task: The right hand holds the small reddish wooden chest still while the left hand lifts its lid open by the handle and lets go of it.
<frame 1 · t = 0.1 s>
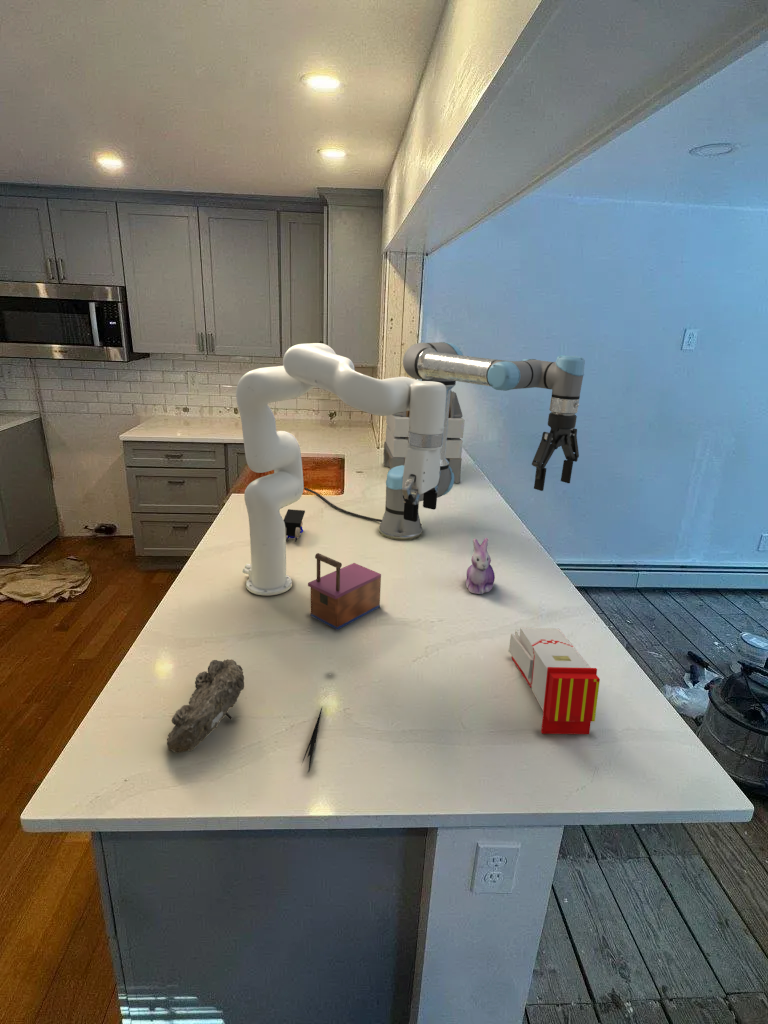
left hand: (420, 514, 128), 31 cm above the counter, tool pointing down, fingers open, 9 cm apart
right hand: (552, 485, 166), 28 cm above the counter, tool pointing down, fingers open, 13 cm apart
figurine character: (293, 536, 193), on the counter
toy: (543, 689, 120), on the counter
figurine: (479, 587, 163), on the counter
fossil: (212, 717, 108), on the counter
lid: (345, 566, 143), point 13 cm above the counter, hinge at 0.0°
transformer: (419, 473, 275), on the counter
chest: (345, 611, 148), on the counter
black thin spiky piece: (319, 719, 109), on the counter
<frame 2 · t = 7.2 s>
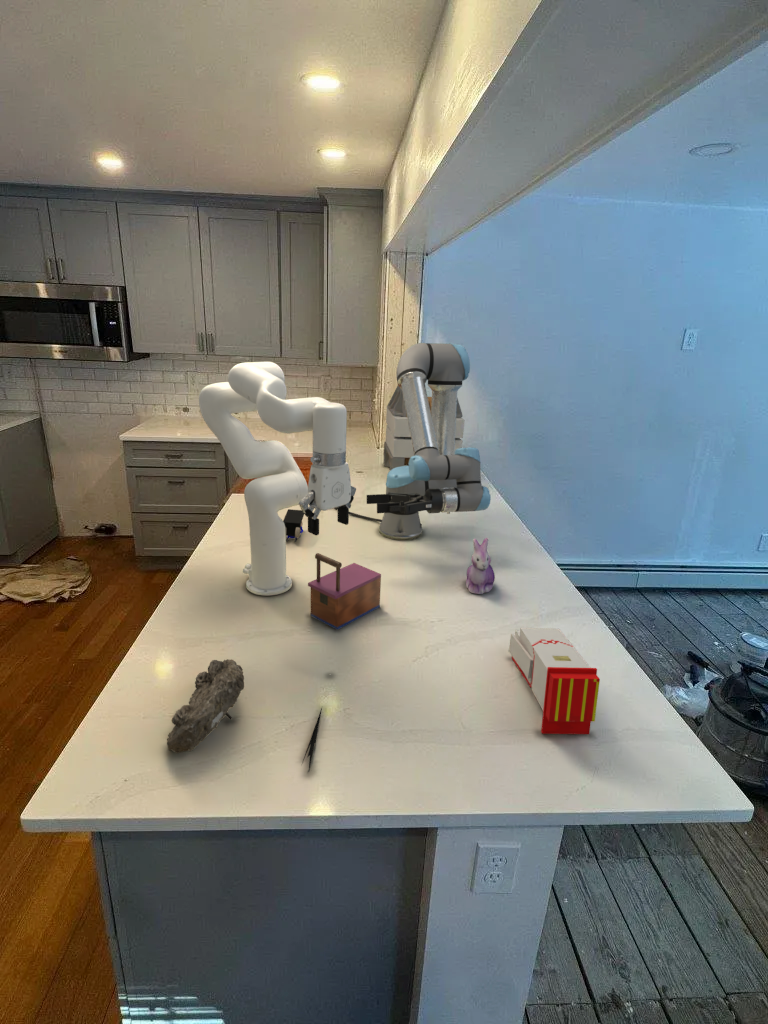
left hand: (328, 528, 134), 25 cm above the counter, tool pointing down, fingers open, 9 cm apart
right hand: (371, 503, 167), 20 cm above the counter, tool horizontal, fingers open, 13 cm apart
nothing on the counter moved.
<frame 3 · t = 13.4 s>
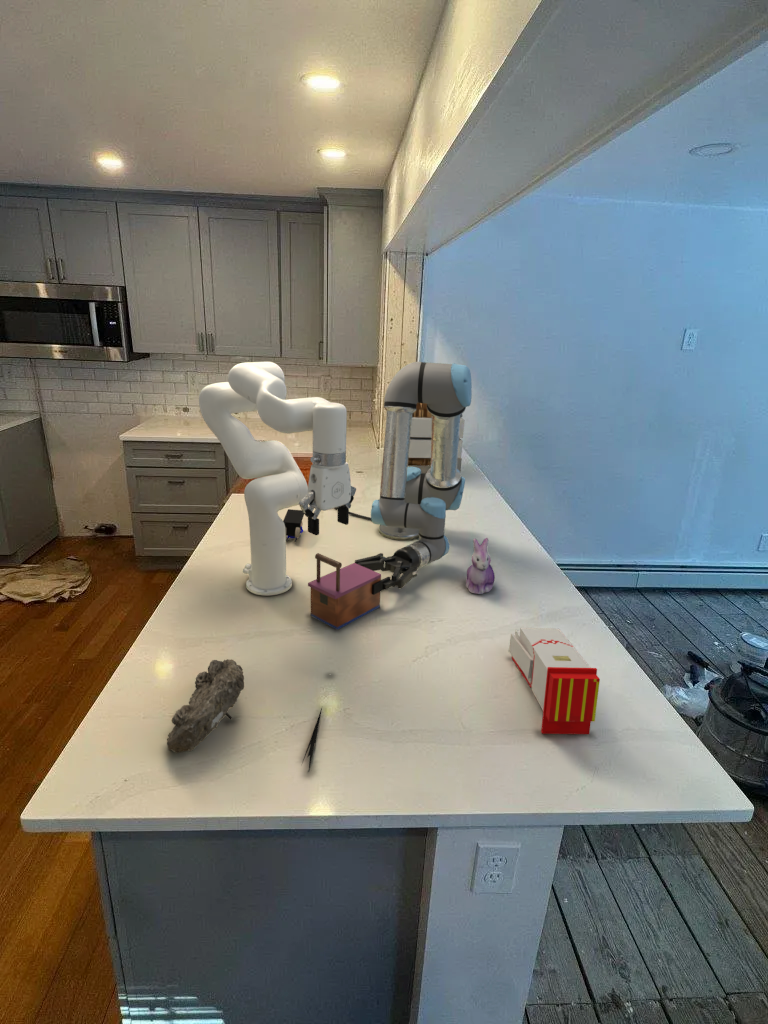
left hand: (328, 528, 134), 25 cm above the counter, tool pointing down, fingers open, 9 cm apart
right hand: (358, 583, 149), 7 cm above the counter, tool horizontal, fingers closed on chest, 10 cm apart
chest: (345, 611, 148), on the counter, touching right hand
everything else where it was.
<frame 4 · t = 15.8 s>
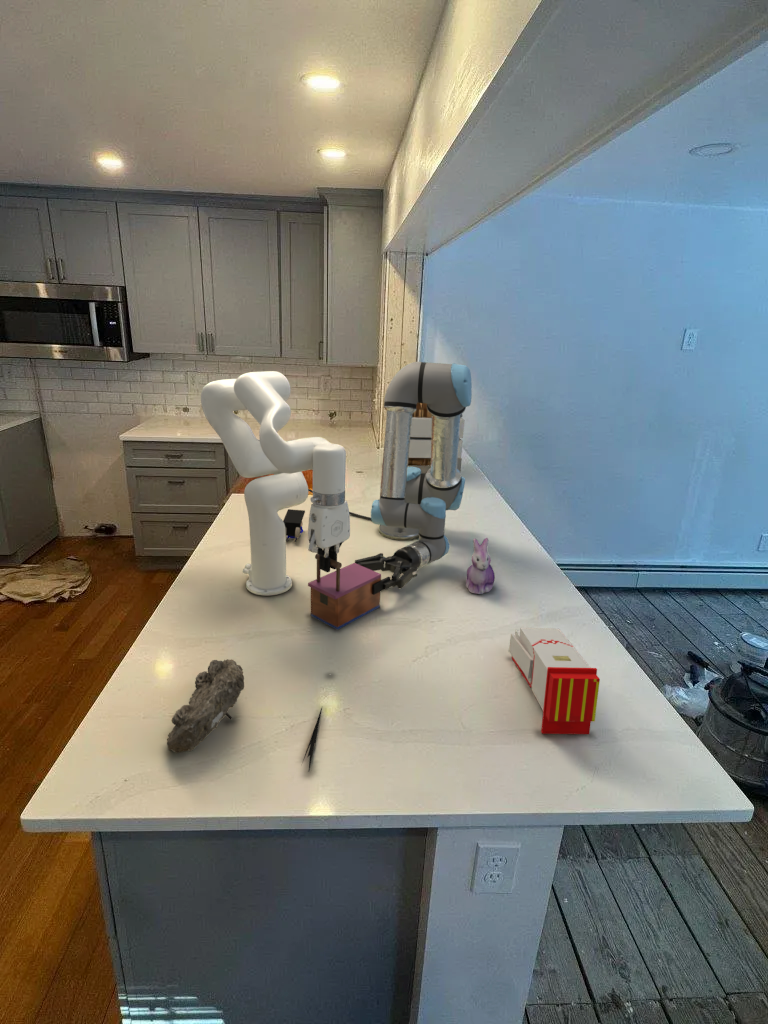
left hand: (328, 568, 138), 15 cm above the counter, tool pointing down, fingers closed
right hand: (358, 583, 149), 7 cm above the counter, tool horizontal, fingers closed on chest, 10 cm apart
lid: (345, 566, 143), point 13 cm above the counter, hinge at -0.1°, touching left hand
chest: (345, 611, 148), on the counter, touching right hand
everything else where it was.
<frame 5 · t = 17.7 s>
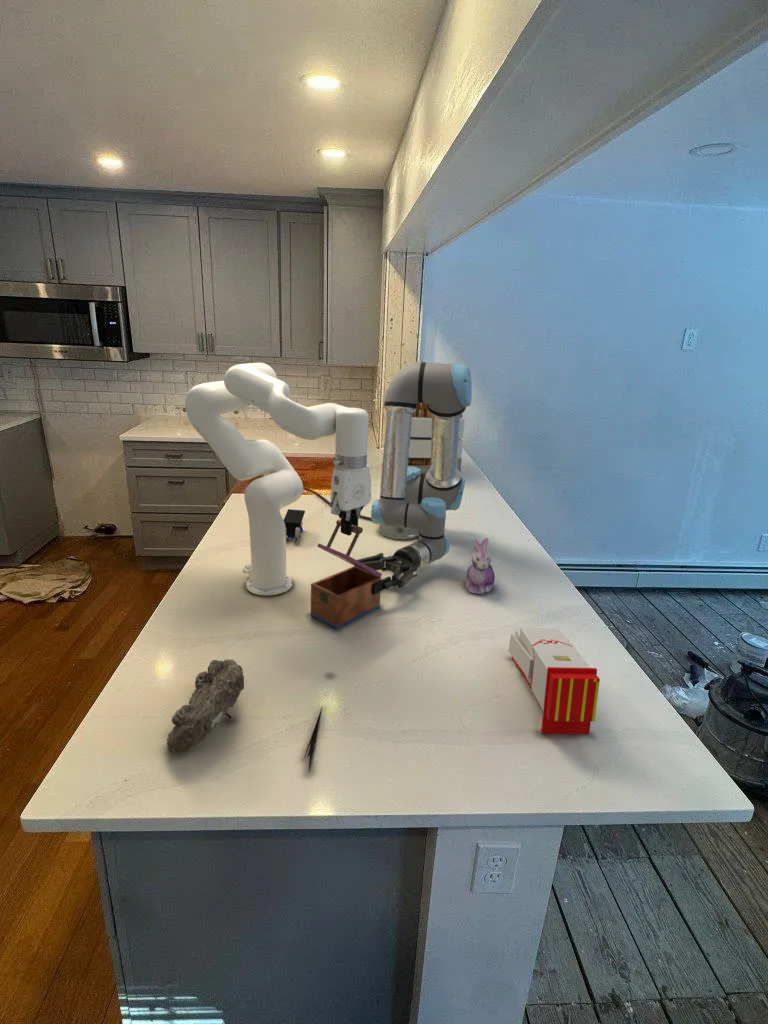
left hand: (349, 532, 141), 22 cm above the counter, tool pointing down, fingers closed
right hand: (358, 583, 149), 7 cm above the counter, tool horizontal, fingers closed on chest, 10 cm apart
lid: (356, 546, 144), point 17 cm above the counter, hinge at 34.6°, touching left hand
chest: (345, 610, 148), on the counter, touching right hand
everything else where it was.
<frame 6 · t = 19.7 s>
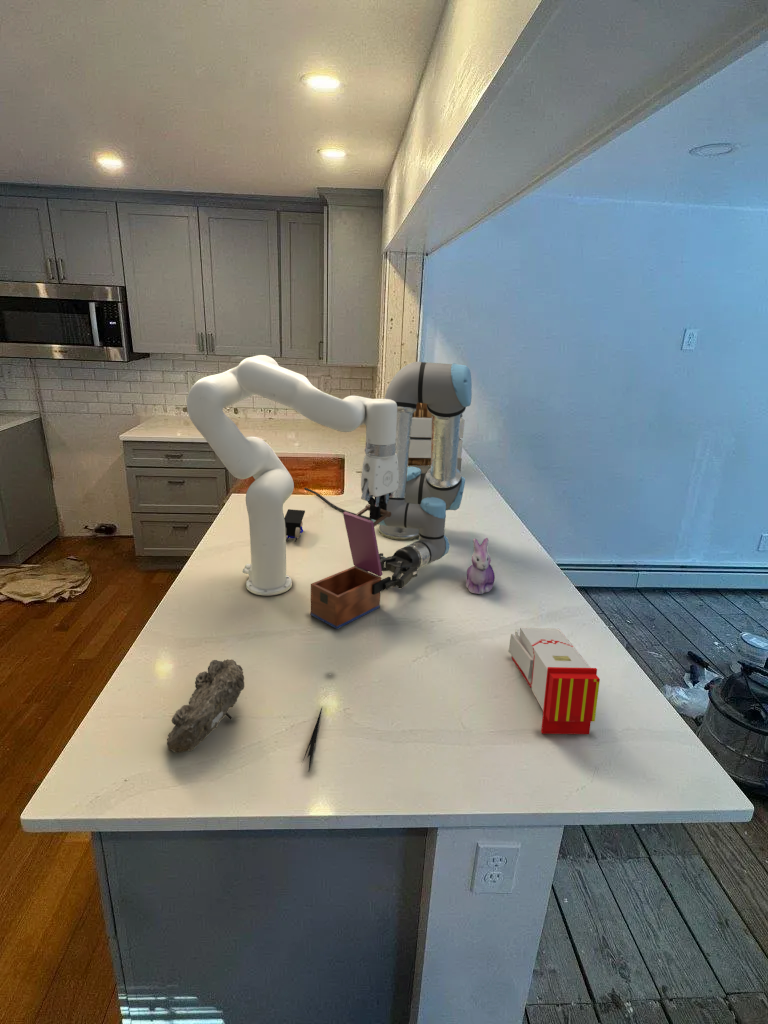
left hand: (377, 517, 148), 23 cm above the counter, tool pointing down, fingers closed
right hand: (358, 583, 149), 7 cm above the counter, tool horizontal, fingers closed on chest, 10 cm apart
lid: (372, 536, 148), point 18 cm above the counter, hinge at 73.3°
chest: (345, 610, 148), on the counter, touching right hand
everything else where it was.
when the right hand's fingers open (7 cm above the counter, at t = 24.1 s): chest stays where it is, on the counter.
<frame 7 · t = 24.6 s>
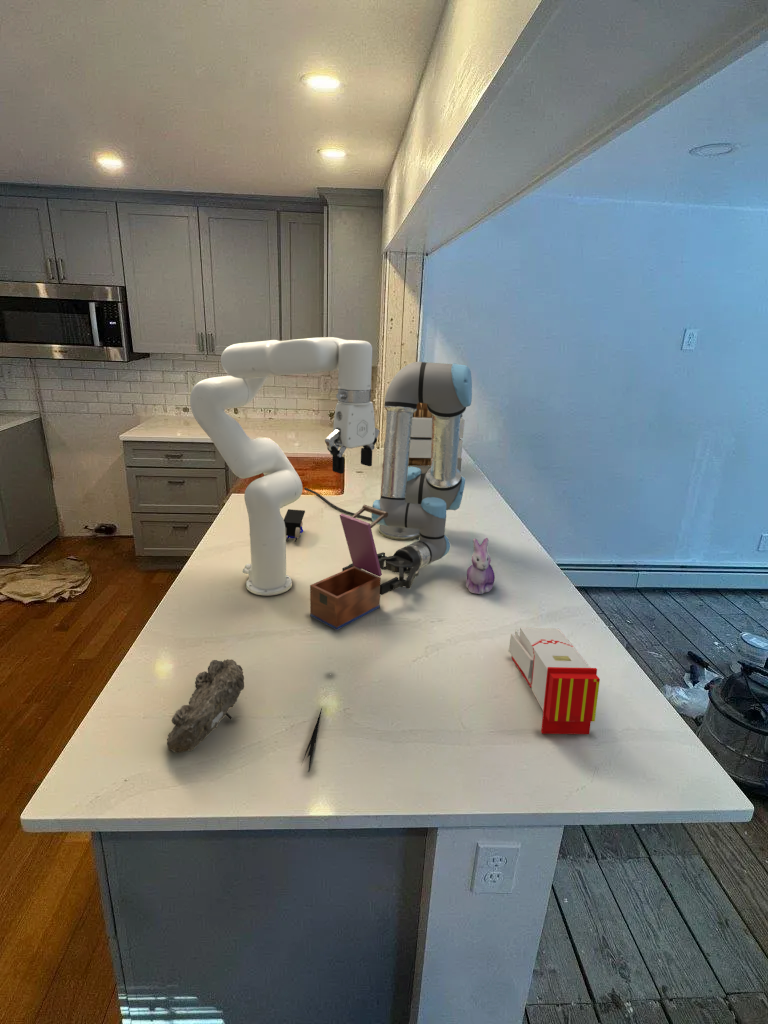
left hand: (352, 468, 136), 38 cm above the counter, tool pointing down, fingers open, 9 cm apart
right hand: (361, 581, 150), 7 cm above the counter, tool horizontal, fingers open, 13 cm apart
lid: (370, 537, 148), point 18 cm above the counter, hinge at 70.9°
chest: (345, 611, 148), on the counter
everything else where it was.
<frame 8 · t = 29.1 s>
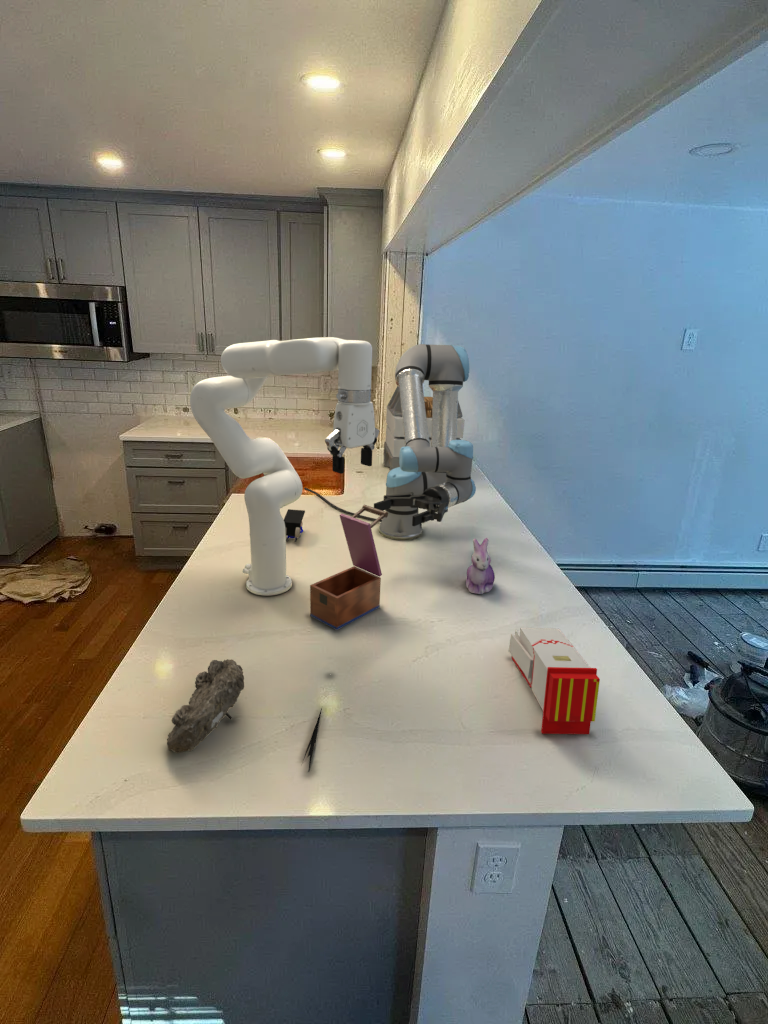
left hand: (352, 468, 136), 38 cm above the counter, tool pointing down, fingers open, 9 cm apart
right hand: (393, 514, 153), 22 cm above the counter, tool horizontal, fingers open, 13 cm apart
nothing on the counter moved.
at the end: lid at +71° (first picture: +0°); the left hand is holding nothing; the right hand is holding nothing; chest tilted 0°; chest never tilted more than 1° during the clip; chest moved 0.1 cm from its start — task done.
